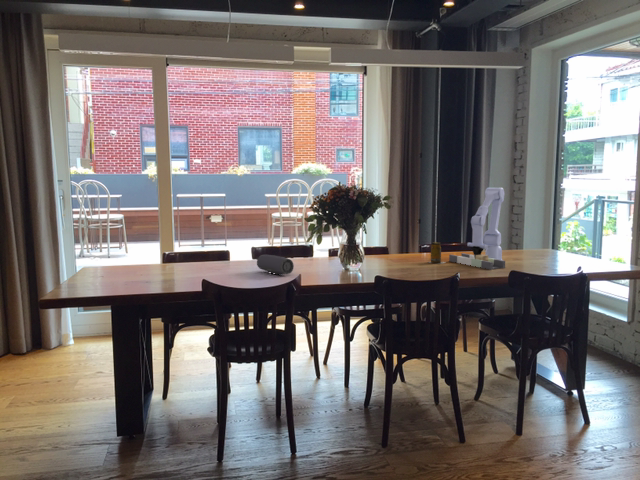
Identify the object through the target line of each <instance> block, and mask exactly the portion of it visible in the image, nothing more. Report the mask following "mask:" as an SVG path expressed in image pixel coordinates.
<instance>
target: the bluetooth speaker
mask: <svg viewBox="0 0 640 480" xmlns="http://www.w3.org/2000/svg"><path fill="white" fill-rule="evenodd" d="M256 266H257V268H258V269H261V270H263V271H266V272H267V273H268V272H271V273H275V274H282V275H289V274H291V273H292V272H293V271H294V262H293V261H292V260H291V259H290V258H287V257H284V256H279V255H273V254H272V255H271V254H260V255H259V256H258V257H257V260H256Z"/></svg>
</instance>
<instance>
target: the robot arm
mask: <svg viewBox="0 0 640 480" xmlns="http://www.w3.org/2000/svg"><path fill="white" fill-rule="evenodd" d="M484 196H485V198H484V201H483V203H482V205H480V206H478V208H477V211H476V212H475V215H473V216H472V217H471V218H470V224H471V228H472V240H471V241H472V242H467V247H471V248H470V249H471V251H472V253H473V255H474V257H475V258H476V255H481V254H482V252H483V251H484V249H485V253H484V255H488V258H493V259H498V260H503V250H502V249H503V248H502V247H501V246H500V245H501V244H502V233H501V232H500V231H499V230H498V228H499V224H500V223H499V222H500V215H501V210H502V209H501V208H502V203H504V200H505V190H504V188H503V187H486V189H485V191H484ZM490 205H491V211H490V219H489V226H488V229H487V230H485V232H484V226H485V224H486V220H487V219H486V217H487V215H488V213H489V207H490Z"/></svg>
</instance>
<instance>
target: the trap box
mask: <svg viewBox="0 0 640 480" xmlns="http://www.w3.org/2000/svg"><path fill="white" fill-rule="evenodd" d="M448 257H449V259H448V261H449V262H451V263H455V262H456V263H457V264H460V263H461V264H462V265H465V264H466V266H470V265H471V267H475V266H476V267H477V268H480V267H481V269H485V268H486V270H491V271H492V270H494V269H493V266H498V267H503V268H502V269H505V268H506V260H504V259H502V260H498V259H493V258H488V261H483V260H478V259H475V257H474V254H469V253H463V252H462V253H461V255H456V254H449V256H448ZM476 267H475V268H476Z"/></svg>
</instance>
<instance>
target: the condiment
mask: <svg viewBox="0 0 640 480" xmlns="http://www.w3.org/2000/svg"><path fill="white" fill-rule="evenodd" d="M428 263H430V264H438V265H441V264H446V263H447V262H446V261H445V262H444V261H442V247H441V242H437V241H434V242H431V247H430V261H428Z"/></svg>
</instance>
